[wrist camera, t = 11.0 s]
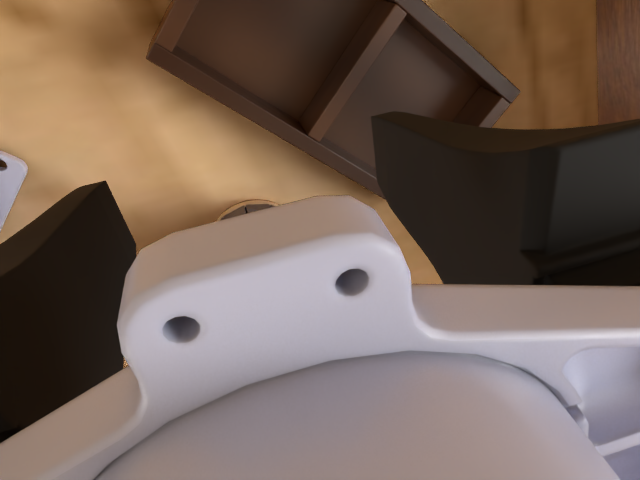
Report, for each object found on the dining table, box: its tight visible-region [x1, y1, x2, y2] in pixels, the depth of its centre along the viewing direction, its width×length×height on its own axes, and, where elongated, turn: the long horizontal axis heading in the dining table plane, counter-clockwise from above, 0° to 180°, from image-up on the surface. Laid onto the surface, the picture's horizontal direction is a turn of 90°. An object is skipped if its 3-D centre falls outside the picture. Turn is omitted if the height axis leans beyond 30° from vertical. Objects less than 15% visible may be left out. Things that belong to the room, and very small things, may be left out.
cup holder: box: [146, 0, 520, 199], centre depth 21 cm, size 8×15×2 cm, turn 55°
